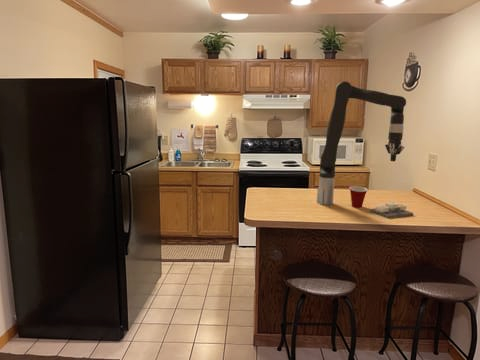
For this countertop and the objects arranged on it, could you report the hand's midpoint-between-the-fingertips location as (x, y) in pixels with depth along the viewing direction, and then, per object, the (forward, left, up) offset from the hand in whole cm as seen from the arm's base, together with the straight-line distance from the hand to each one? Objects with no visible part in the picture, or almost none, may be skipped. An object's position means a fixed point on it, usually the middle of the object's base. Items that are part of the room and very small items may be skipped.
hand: (392, 161), depth 200 cm
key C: (0, -9, -28) cm, 30 cm away
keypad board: (-7, -9, -29) cm, 31 cm away
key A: (-13, -9, -28) cm, 32 cm away
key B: (-6, -9, -27) cm, 29 cm away
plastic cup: (-16, +9, -29) cm, 34 cm away
